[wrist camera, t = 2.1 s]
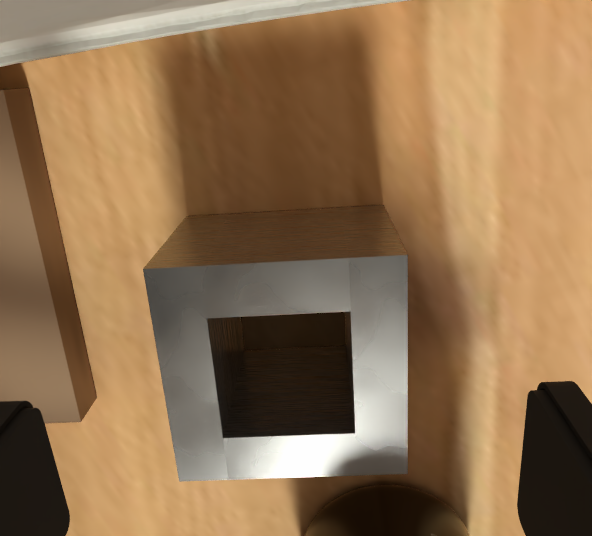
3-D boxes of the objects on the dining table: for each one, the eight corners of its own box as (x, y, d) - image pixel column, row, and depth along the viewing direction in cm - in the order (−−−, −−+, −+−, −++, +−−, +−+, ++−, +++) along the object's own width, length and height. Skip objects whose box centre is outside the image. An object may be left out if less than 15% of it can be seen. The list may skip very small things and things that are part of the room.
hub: (386, 378, 20) (407, 473, 16) (210, 385, 21) (179, 481, 16) (383, 204, 18) (407, 254, 13) (186, 216, 18) (142, 268, 14)
